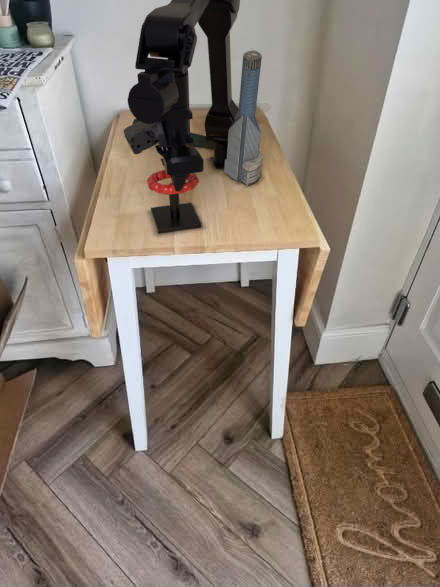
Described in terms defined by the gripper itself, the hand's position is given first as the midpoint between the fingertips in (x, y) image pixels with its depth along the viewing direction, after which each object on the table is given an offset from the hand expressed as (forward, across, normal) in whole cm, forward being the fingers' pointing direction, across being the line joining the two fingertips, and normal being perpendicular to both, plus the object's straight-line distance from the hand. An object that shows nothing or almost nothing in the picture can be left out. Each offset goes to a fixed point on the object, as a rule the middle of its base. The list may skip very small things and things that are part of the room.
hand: (177, 188), depth 82 cm
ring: (0, -4, 0) cm, 4 cm away
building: (+9, -20, +20) cm, 30 cm away
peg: (+9, -4, 0) cm, 10 cm away
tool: (+10, -43, +10) cm, 45 cm away
